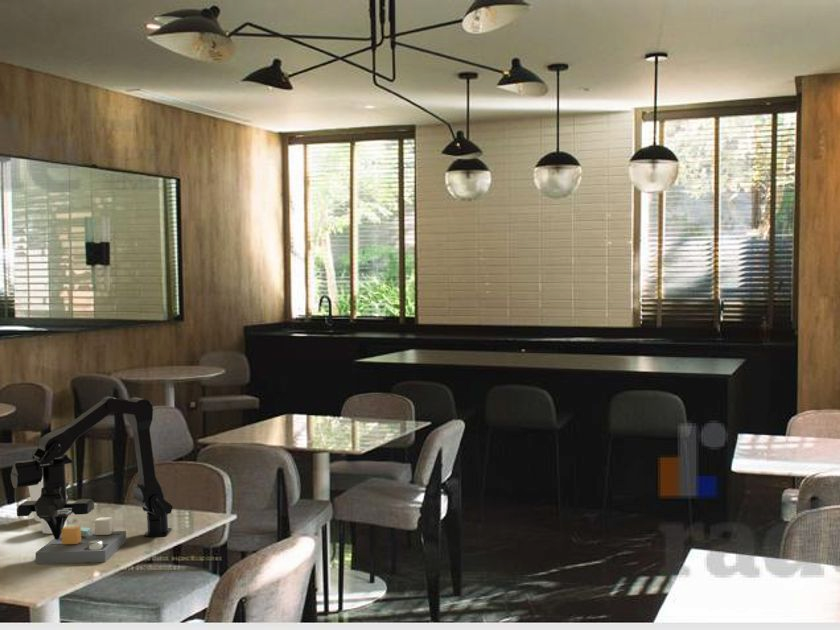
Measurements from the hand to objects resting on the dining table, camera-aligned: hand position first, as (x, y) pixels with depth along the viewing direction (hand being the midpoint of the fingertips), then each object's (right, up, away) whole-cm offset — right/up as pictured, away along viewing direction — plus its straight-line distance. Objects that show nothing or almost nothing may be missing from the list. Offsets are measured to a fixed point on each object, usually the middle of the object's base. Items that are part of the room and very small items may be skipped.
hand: (57, 539), depth 246 cm
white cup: (-10, -4, +24) cm, 26 cm away
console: (+6, -4, +2) cm, 8 cm away
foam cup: (-19, -3, +38) cm, 42 cm away
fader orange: (+4, -1, 0) cm, 4 cm away
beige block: (+10, 0, +8) cm, 13 cm away
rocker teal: (+3, +1, +7) cm, 7 cm away
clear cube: (+12, -4, -3) cm, 13 cm away
